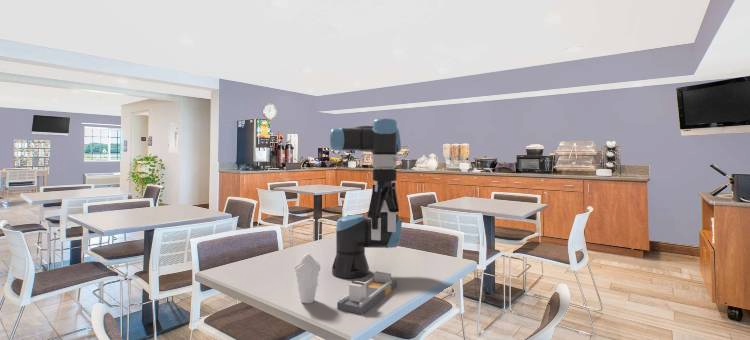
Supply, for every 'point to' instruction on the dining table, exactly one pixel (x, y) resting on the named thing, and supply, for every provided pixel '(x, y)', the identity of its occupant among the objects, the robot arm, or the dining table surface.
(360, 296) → the fader tab
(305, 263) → the soft serve ice cream cone
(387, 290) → the slider track
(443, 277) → the dining table surface
